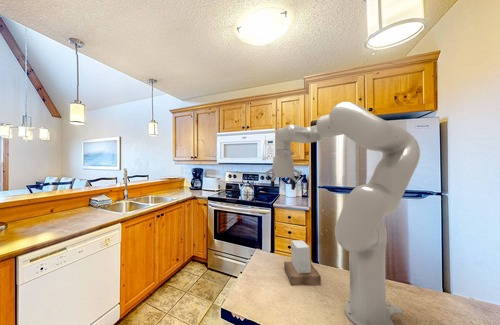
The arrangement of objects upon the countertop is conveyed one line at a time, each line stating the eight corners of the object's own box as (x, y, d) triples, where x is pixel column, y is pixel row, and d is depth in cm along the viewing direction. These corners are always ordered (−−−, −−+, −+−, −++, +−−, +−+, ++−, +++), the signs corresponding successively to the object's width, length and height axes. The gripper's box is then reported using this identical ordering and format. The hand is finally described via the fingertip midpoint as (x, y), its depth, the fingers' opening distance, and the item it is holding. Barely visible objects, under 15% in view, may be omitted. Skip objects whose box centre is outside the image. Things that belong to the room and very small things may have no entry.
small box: (311, 273, 74) (310, 247, 74) (297, 274, 73) (297, 247, 74) (303, 263, 82) (303, 239, 82) (291, 264, 81) (291, 240, 82)
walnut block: (309, 270, 84) (309, 261, 84) (320, 286, 72) (320, 276, 72) (284, 270, 83) (284, 261, 84) (290, 287, 71) (290, 276, 72)
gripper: (298, 155, 92) (298, 188, 91) (264, 154, 92) (264, 188, 91) (303, 153, 84) (303, 190, 84) (266, 153, 84) (266, 190, 83)
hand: (283, 189), depth 87 cm, fingers open, 9 cm apart
